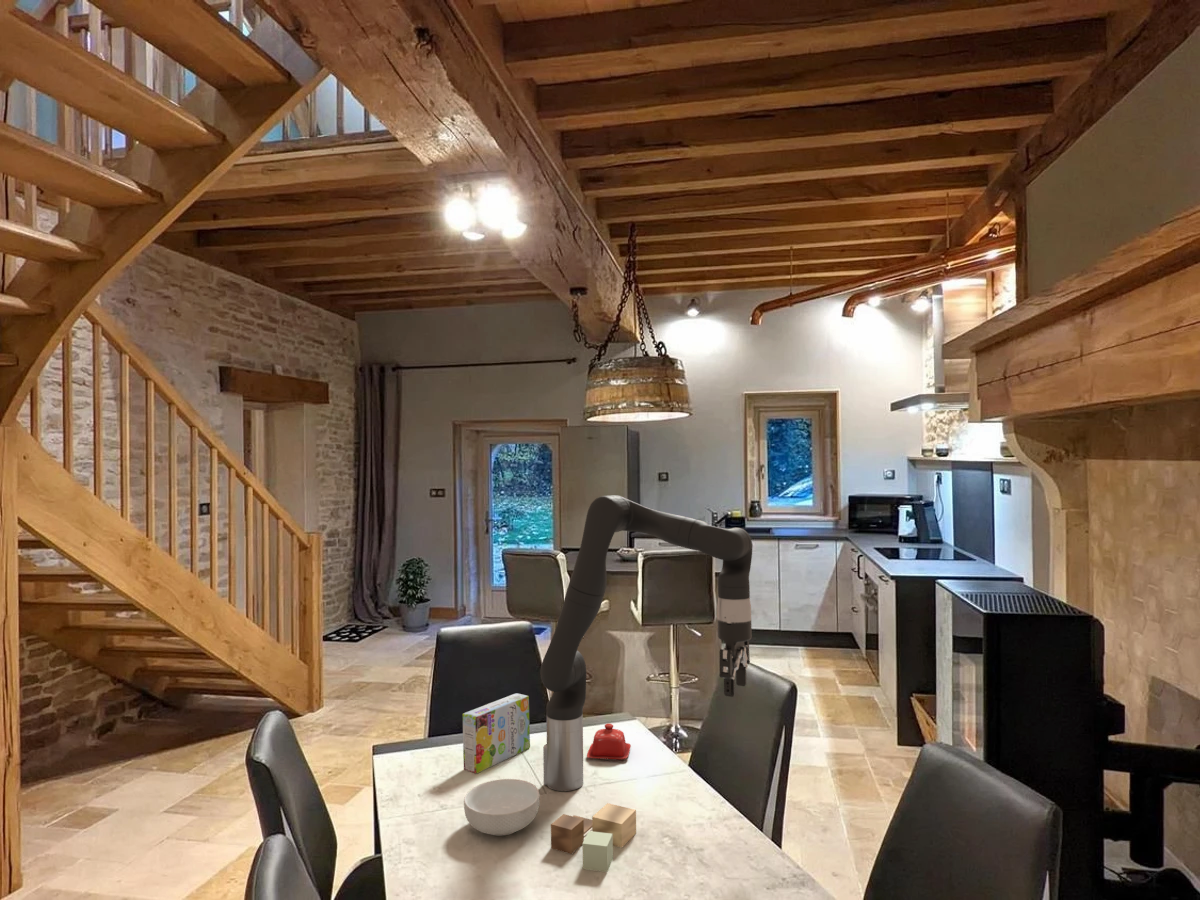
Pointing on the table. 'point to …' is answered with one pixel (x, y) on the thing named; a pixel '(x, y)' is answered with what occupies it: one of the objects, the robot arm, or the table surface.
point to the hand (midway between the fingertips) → (735, 690)
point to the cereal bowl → (501, 806)
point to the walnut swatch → (586, 825)
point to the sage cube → (597, 851)
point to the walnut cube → (567, 833)
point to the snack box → (495, 732)
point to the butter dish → (609, 744)
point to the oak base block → (615, 823)
